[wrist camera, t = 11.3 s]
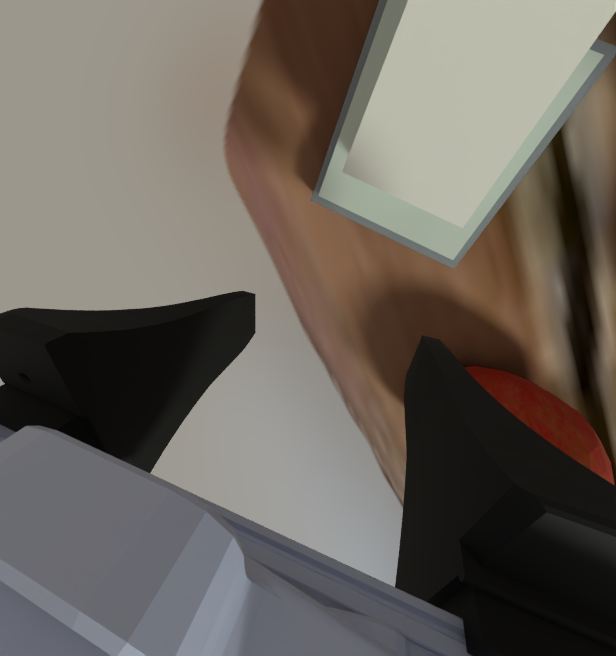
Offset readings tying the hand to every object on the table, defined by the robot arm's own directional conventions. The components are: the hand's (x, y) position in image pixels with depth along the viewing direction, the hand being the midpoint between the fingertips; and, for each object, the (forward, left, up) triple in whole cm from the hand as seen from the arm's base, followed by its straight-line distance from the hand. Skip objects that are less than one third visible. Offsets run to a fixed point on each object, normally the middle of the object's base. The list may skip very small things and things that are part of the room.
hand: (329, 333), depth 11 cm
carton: (0, -8, -8) cm, 11 cm away
